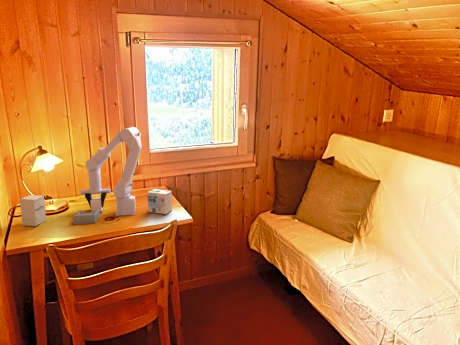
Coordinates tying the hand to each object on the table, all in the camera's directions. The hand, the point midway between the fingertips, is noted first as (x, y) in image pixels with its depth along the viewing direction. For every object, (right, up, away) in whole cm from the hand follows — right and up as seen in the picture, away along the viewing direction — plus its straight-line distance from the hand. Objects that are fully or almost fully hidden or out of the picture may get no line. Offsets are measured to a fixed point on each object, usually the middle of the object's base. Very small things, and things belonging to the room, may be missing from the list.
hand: (96, 207), depth 188 cm
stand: (0, -2, 0) cm, 2 cm away
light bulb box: (+32, -2, +2) cm, 32 cm away
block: (0, -1, 0) cm, 1 cm away
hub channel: (-1, -5, -11) cm, 12 cm away
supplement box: (-23, -6, -17) cm, 29 cm away
